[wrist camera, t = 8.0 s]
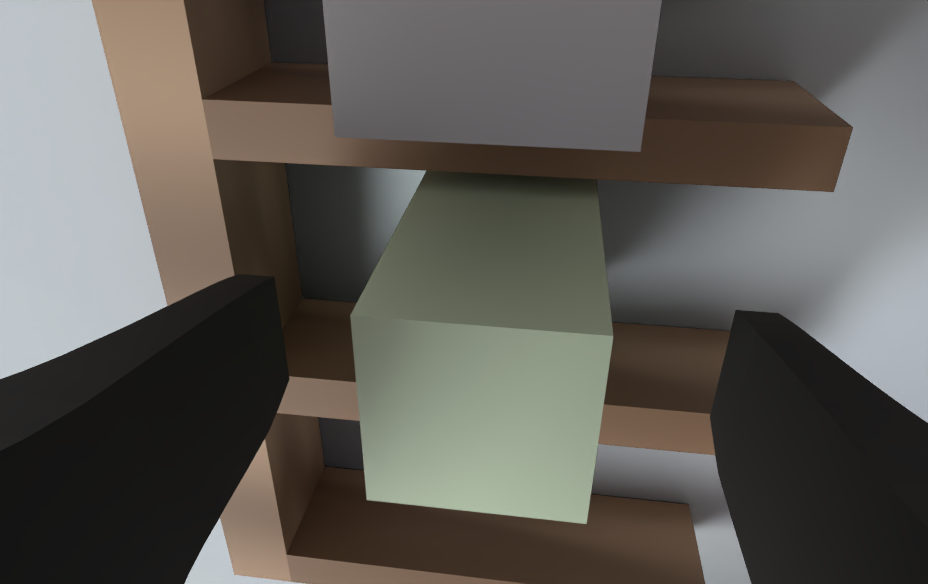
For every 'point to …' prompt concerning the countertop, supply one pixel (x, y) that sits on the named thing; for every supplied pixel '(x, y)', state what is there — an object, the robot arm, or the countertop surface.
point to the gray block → (492, 71)
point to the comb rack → (328, 322)
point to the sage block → (486, 348)
